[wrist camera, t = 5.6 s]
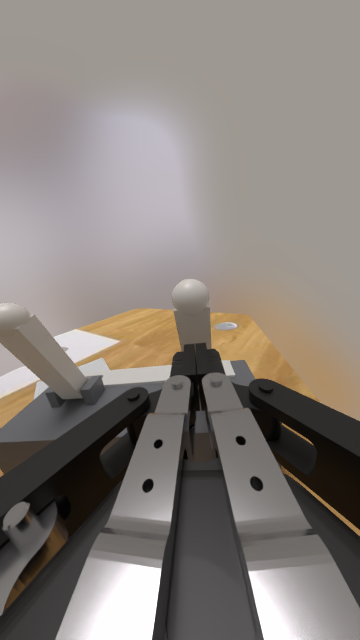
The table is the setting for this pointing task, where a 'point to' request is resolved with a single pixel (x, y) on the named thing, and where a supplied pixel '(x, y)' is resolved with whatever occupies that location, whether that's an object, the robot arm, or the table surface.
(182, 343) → the marked lever
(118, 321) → the table surface
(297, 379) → the table surface
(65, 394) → the unmarked lever
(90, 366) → the external hard drive
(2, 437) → the switch unit
